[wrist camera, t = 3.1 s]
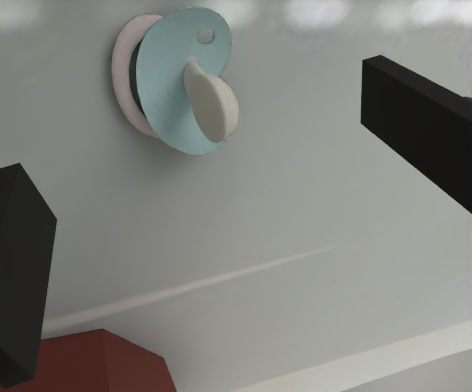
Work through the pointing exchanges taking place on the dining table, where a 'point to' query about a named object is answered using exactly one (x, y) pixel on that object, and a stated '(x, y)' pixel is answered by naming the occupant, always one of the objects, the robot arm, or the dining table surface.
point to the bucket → (96, 366)
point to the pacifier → (177, 79)
